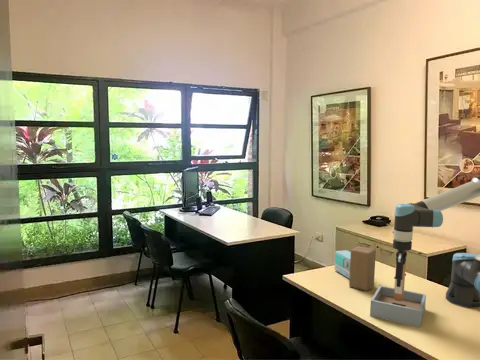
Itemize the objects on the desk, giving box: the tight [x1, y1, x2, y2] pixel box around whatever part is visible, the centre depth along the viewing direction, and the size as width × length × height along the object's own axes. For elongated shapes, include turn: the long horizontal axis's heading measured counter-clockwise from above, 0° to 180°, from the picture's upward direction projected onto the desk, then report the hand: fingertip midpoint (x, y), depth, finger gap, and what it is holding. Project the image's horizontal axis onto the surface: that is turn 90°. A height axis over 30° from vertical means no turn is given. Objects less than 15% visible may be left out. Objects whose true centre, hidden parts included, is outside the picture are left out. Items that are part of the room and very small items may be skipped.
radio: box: [334, 243, 361, 280], centre depth 216 cm, size 16×9×20 cm, turn 17°
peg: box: [393, 263, 407, 301], centre depth 170 cm, size 4×4×16 cm
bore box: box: [369, 285, 427, 328], centre depth 171 cm, size 20×20×7 cm
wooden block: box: [348, 245, 377, 292], centre depth 199 cm, size 10×10×20 cm
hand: (399, 291), depth 170 cm, fingers closed on peg, 4 cm apart
